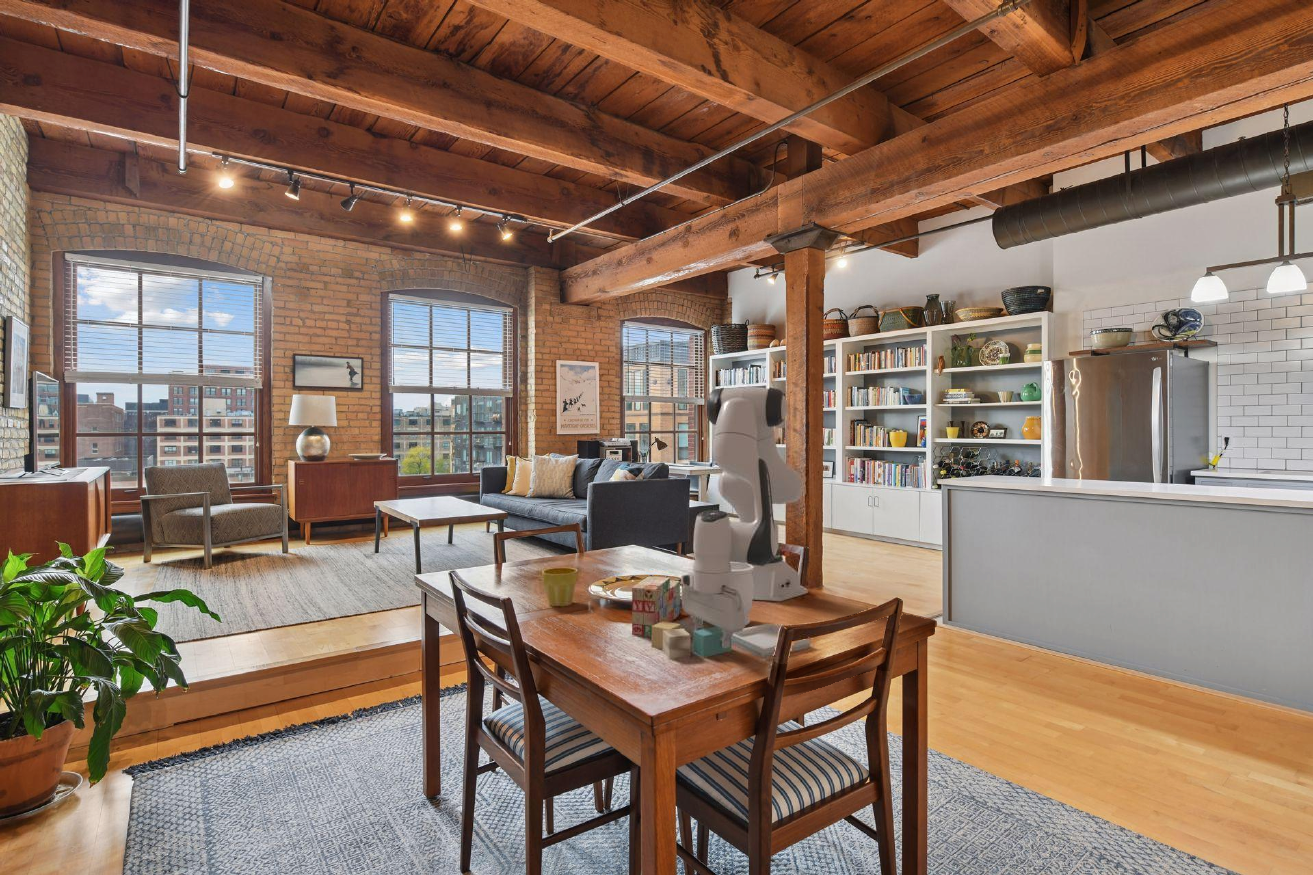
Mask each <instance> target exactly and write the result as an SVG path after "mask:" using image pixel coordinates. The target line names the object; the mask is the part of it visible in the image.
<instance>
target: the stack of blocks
mask: <svg viewBox="0 0 1313 875" xmlns="http://www.w3.org/2000/svg"><path fill="white" fill-rule="evenodd" d="M670 578H671V577H668V576H667V577H665V576H664V577H662V576H651V575H649V576H647V577H645V578H644V579H641V581H639V582H638V583H636V584H634V586H632V587H631V611H632V612H631V617H632V618H631V622H632V624H631V635H632V636H638V637H640V636H641V637H649V638H652V626H653V625H655V624H657V623H660V622H662V621H666V622H671V621H672V622H673V621H674V620H675V619H676V618H677V617H679V615H680V614H681V591H680V590H681V587H680V586H681V585H680V583H681V582H680V581H679V580H671V579H670ZM672 622H671V623H672Z"/></svg>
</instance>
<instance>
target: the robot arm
mask: <svg viewBox="0 0 1313 875" xmlns="http://www.w3.org/2000/svg"><path fill="white" fill-rule="evenodd" d="M785 395H786V394H785V393H784V391H782V390H781V389H779V388H775V387H769V388H766V387H757V386H746V387H730V388H729V387H728V388H724V387H721V388H716V389H713V390H712V391H711V392H710V393H709V394H708V396H707V398H706V399H707V400H706V402H705V412H706V416H707V419H708V421H709V422H710V423H711V424H712V425H714V426H715V428H714V431H713V432H714V433H713V441H712V458H713V461H714V462H715V463H716V465H717V467H718V468H719V469H721V470H722V473H721V474H720V476H719V478H718V480H717V488H718V489H717V490H718V493H719V494H720V496H721V497H722V498H723V499H724V500H725V501H726V502H727V503H728V504H729V505H730V506H731V507H732V508H733V509H734V511H735V513H736V514H737V517H738V519H739V521H731V520H730V516H729V514H728V512H726V511H723V510H719V509H718V510H717V509H715V510H714V509H712V510H711V509H710V510H704V511H702V512H700V513H698V514H697V515H696V518H695V523H694V530H693V541H692V542H693V546H692V547H693V548H692V549H693V550H692V551H693V554H694V564H693V568H692V569H693V571H692V572H691V573H686V574H681V578H680V580H681V582H680V583H681V584H682V587H681V607H682V610H683V612H684V613H685V614H688V615H689V616H692V621H693V624H694V627H695V631H697V630H702V629H705V628H703V621H706V622H708V623H710V624H713V625H715V626H717V627H719V628H722V633H724V635H723V638H722V639H720V646H721V647H723V648H728V647H729V646H730V639H731V637H732V635H733V633H734V632H739V631H742V630H743V629H744V628H746V625H745V615H744V606H743V601H742V599H741V596H740V595H739V593H738V591H737V590H735V589H732V568H731V564H730V562H736V563H746V564H750V565H752V566H754V570H753V572H752V576H753V582H754V595H753V600H757V601H772V602H773V601H774V602H783V601H787V600H789V599H792V598H793V599H794V598H795V597H799V596H802V595H806V594H808V593H809V591H808V588H806V587H804V586H803V585H801V581H800V580H801V579H800V575H799V573H798V572H797V570H795V569H794V568H793V567H792V566H790V565H789V564H788V563H787V562H786V561H784V558H783V556H784V557H788V556H790V551H789V550H788V549H783V548H782V549H780V548H779V525H778V522H776V520H775V519H774V510H773V505H783V504H784V505H785V504H791V503H796V502H797V501H798V500H799V499H800V498H801V496H802V494H803V492H804V481H803V477H802V476H801V474H800V473H799V472H798V471H797V470H795V469H794V468H792V467H790V466H789V465H788V464H787V463H786V462H785V461H784V460H783V459H782V458H781V455H780V454H779V451H778V448H777V441H776V435H775V427H777V426H780V425H781V424H782V423H783V422H784V421H785V418H786V415H787V413H788V401H787V397H786V396H785Z"/></svg>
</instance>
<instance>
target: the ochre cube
mask: <svg viewBox="0 0 1313 875" xmlns="http://www.w3.org/2000/svg"><path fill="white" fill-rule="evenodd" d="M681 626H682V625H681V623H676V622H666V621H662V622H660V623H657V624H655V625H653V626H652V637H651V648H655V649H660V650H663V630H673V629H682V628H681Z"/></svg>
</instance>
